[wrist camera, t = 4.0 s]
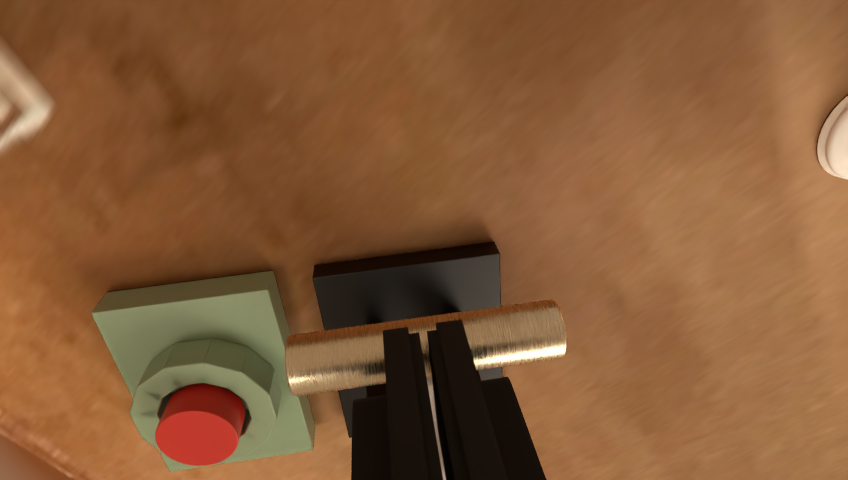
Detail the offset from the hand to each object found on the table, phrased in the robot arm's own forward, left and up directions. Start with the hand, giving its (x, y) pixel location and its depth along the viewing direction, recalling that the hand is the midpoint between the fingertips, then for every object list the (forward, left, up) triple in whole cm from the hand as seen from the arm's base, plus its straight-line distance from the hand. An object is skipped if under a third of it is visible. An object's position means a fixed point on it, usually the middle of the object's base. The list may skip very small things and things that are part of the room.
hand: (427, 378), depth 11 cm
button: (+10, -10, -11) cm, 18 cm away
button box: (+10, -10, -14) cm, 20 cm away
